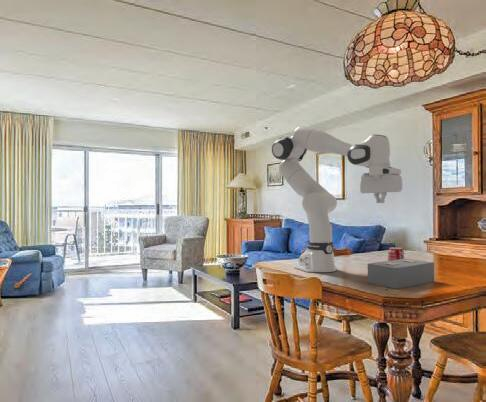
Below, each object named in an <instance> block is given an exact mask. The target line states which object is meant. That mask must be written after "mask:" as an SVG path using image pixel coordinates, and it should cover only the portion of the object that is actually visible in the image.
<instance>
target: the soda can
mask: <svg viewBox="0 0 486 402" xmlns="http://www.w3.org/2000/svg"><path fill="white" fill-rule="evenodd" d="M398 259H405V252H404V250H403V247H398V246H392V247H389V249H388V251H387V261H391V260H398Z"/></svg>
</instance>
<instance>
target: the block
mask: <svg viewBox="0 0 486 402" xmlns="http://www.w3.org/2000/svg"><path fill="white" fill-rule="evenodd" d="M405 260H413V261H417V262H414V263H409V262H403V261H405ZM384 263H397V264H399V265H393V266H391V265H385V264H384ZM434 282H435V262H434V261H428V260H427V261H425V260H419V259H411V258H404V259H398V260H391V261H388V260H384V261H376V262H370V263H367V283H368V284H371V285H377V286H380V287H385V286H386V288H391V289H395V290H398V289H402V288H408V287H414V286H419V285H424V284H429V283H434Z"/></svg>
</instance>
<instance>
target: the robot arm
mask: <svg viewBox="0 0 486 402" xmlns="http://www.w3.org/2000/svg"><path fill="white" fill-rule="evenodd" d="M390 147H391V146H390V139H389V138H388V136H387V135H383V134H370V135H369V136H368V137H367V138H366V139H364V140H363V141H361V142H359V143H356V144H351V143H349V142H345V141H343V140H340V138H337V137H335V136H334V135H332V134H330V133H328V132H326V131H324V130H322V129H320V128H315V127H311V126H305V125H304V126H300V125H299V126H298V127H296V128H295V129H294V131H293V133H292V136H291V137H289V136H286V137H283V138H282V137H281V138H279V139H277V140H275V141H274V142H273V144H272V146H271V153H272V156H273V157H274V158H276V159H277V160H281V162H280V164H279V166H278V170H279V173H280V174H281V176H282V177H283V178H284V180H285V181H286V183H287V184H288V185H289V186H290V187H291V188H292V190H293V191H294V192H295V193H296V194H297V195H298V196H300V197H302V201H301V206H302V209H303V210H304V211H305V214H306V218H307V222H308V227H309V242H306V246H307V248H306V250H305V251H304V252H303V253H301V255H300V256H299V258H298V264H296V265H293V268H294V269H297V270H300V271H303V272H306V273H331V272H336V271H337V266H336V263H335V254H334V250H333V249H334V242H333V226H332V224H331V222H330V219H329V215H328V214H330V213H332V212H333V211H334V210H335V209H336V208H337V205H338V201H337V199H336V197H335V196H334V195H333V194H331V193H330V191H328V190H327V189H326V188H325V187H323V185H321V184H320V183H318V182H317V181H316V180H315V179H314V178H313V177H312V176H311V175H310V173H308V171H306V169H304V167H303V166H302V165H301V164H300V162H301V161H302V160H303V158H304V156H305V155H306V153H307V151H310V152H315V153H320V154H335V155H341V156H343V157H347V160H348V162H349V163H351V164H352V165H355V166H359V167H365V168H367V169H368V172H364V173H362V175H361V176H360V184H359V185H360V186H359V192H360V193H361V194H373V196H374V198H375V200H376V201H375V202H376V204H384V203H385V199H386V198H387V193H401V192H402V190H403V178H402V176H401V174H402V170H401V169H400V168H398V167H397V168H396V167H393V166H391V161H390V158H391V157H390V156H391V148H390Z"/></svg>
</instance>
